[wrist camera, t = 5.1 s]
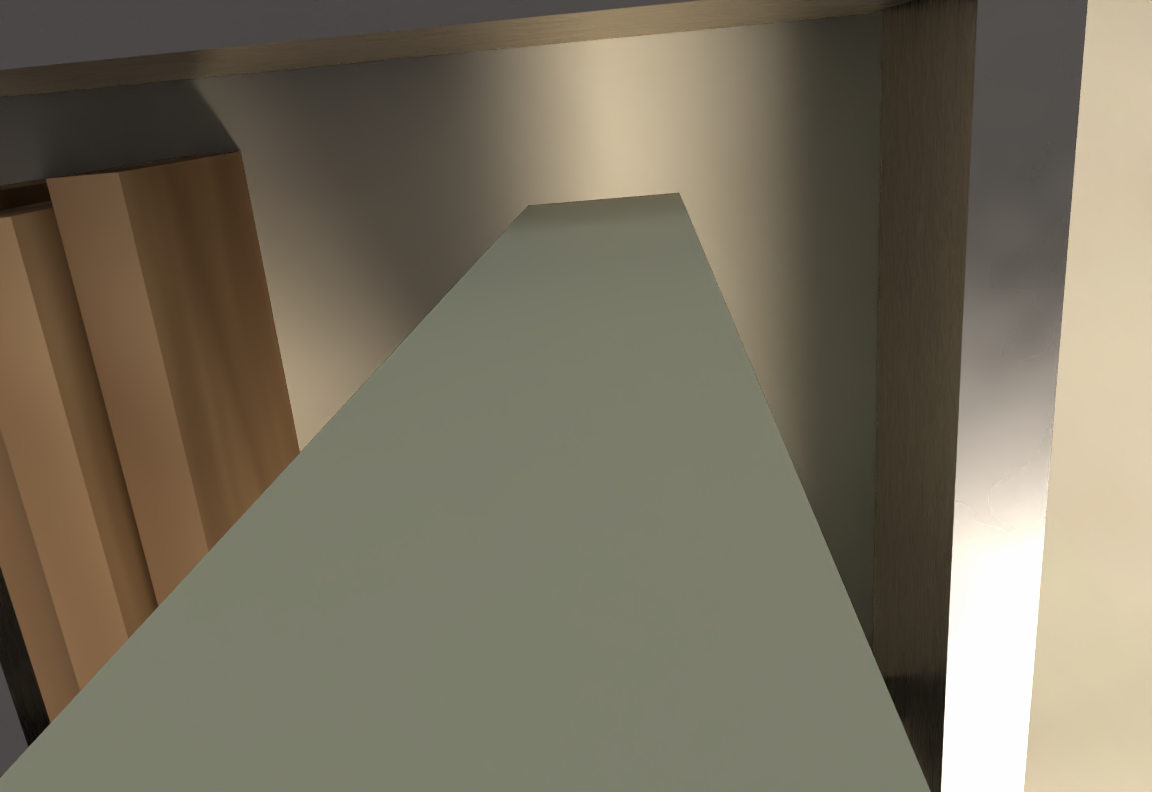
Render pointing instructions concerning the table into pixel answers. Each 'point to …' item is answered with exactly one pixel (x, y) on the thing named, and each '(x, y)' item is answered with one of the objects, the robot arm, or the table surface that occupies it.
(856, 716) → the pale green flat block
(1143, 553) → the table surface
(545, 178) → the table surface
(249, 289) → the offcut stack
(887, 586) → the tray
